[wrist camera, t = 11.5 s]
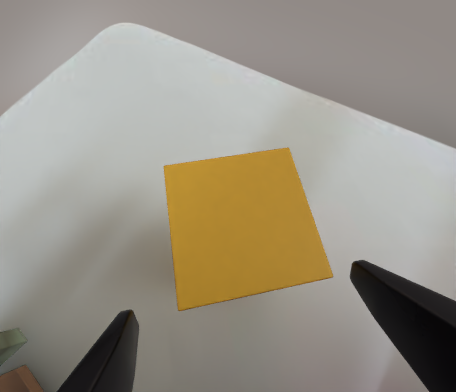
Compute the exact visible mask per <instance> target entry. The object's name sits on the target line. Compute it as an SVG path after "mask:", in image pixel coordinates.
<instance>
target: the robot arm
mask: <svg viewBox="0 0 456 392" xmlns="http://www.w3.org/2000/svg"><path fill="white" fill-rule="evenodd" d="M350 279H351V282H352V283H353V285H354V287H355V288H356V290H357V291H358V293H359V295H360V296H361V298H362V299H363V301H364V303H365V304H366V306H367V308H368V309H369V311H370V312H371V314H372V315H373V317H374V318H375V320H376V321H377V322H378V324H379V325H380V326H381V328H382V329H383V331H384V332H385V333H386V335H387V336H388V337H389V339H390V340H391V341H392V343H393V344H394V345H395V347H396V348H397V349H398V351H399V352H400V353H401V355H402V356H403V357H404V359H405V360H406V361H407V363H408V364H409V365H410V367H411V368H412V369H413V371H414V372H415V373H416V375H417V376H418V377H419V379H420V380H421V381H422V383H423V384H424V385H425V387H426V388H427V389H428V391H429V392H456V301H454V300H452V299H450V298H448V297H445V296H443V295H441V294H439V293H436V292H434V291H432V290H430V289H427V288H425V287H423V286H421V285H419V284H416V283H414V282H412V281H410V280H407V279H405V278H403V277H401V276H398V275H396V274H394V273H392V272H389V271H387V270H385V269H383V268H380V267H378V266H376V265H374V264H372V263H369V262H367V261H365V260H359V261H354V262H353V263H352V267H351V273H350ZM138 335H139V324H138V321H137V319H136V316H135V314H134V312H133V310H125V311H121V312H120V313H119V314H118V315H117V316H116V317H115V319H114V320H113V321H112V322H111V324H110V325H109V326H108V327H107V329H106V330H105V331H104V333H103V334H102V335H101V336H100V338H99V339H98V340H97V341H96V343H95V344H94V345H93V346H92V348H91V349H90V350H89V351H88V353H87V354H86V355H85V356H84V358H83V359H82V360H81V361H80V363H79V364H78V365H77V366H76V368H75V369H74V370H73V372H72V373H71V374H70V375H69V377H68V378H67V379H66V380H65V382H64V383H63V384H62V385H61V387H60V388H59V389H58V390H57V392H132V388H133V382H134V376H135V368H136V357H137V346H138Z"/></svg>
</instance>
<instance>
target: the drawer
mask: <svg viewBox="0 0 456 392" xmlns="http://www.w3.org/2000/svg"><path fill="white" fill-rule="evenodd" d="M26 342H27V339H26V338H25V337H24V335H23V334H22V332H21V331H20V329H19V328H16V329H12V330H8V331H4V332H0V366H1V365H2V364H3V363H4V362H5V361H6V360H8V359H9V358H10V357H11V356H12V355H13V354H14V353H15V352H16V351H17V350H18V349H19V348H20V347H21V346H23V345H24V344H25V343H26ZM0 392H44V391H43V389H42V388H41V386H40V385H39V383H38V382H37V381H36V379H35V378H34V376H33V375H32V373H31V372H30V370H29V369H28V367H27V366H26V365H24V366H22V367H19V368H17V369H14V370H12V371H10V372H8V373H5V374H3V375H1V376H0Z"/></svg>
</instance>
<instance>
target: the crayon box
mask: <svg viewBox="0 0 456 392" xmlns="http://www.w3.org/2000/svg"><path fill="white" fill-rule="evenodd" d="M164 175H165V185H166V195H167V205H168V215H169V225H170V235H171V245H172V255H173V265H174V275H175V285H176V295H177V305H178V310H179V311H183V310H187V309H192V308H196V307H201V306H205V305H210V304H214V303H219V302H224V301H228V300H233V299H237V298H242V297H246V296H251V295H255V294H260V293H264V292H269V291H274V290H278V289H283V288H287V287H292V286H296V285H301V284H305V283H310V282H314V281H319V280H324V279H328V278H332V277H333V274H332V271H331V268H330V265H329V262H328V259H327V256H326V253H325V251H324V248H323V245H322V242H321V239H320V236H319V233H318V230H317V227H316V225H315V222H314V219H313V216H312V213H311V210H310V207H309V204H308V201H307V199H306V196H305V193H304V190H303V187H302V184H301V181H300V178H299V175H298V173H297V170H296V167H295V164H294V161H293V158H292V155H291V152H290V150H289V148H282V149H275V150H268V151H261V152H254V153H248V154H241V155H234V156H227V157H220V158H214V159H207V160H200V161H193V162H186V163H179V164H173V165H166V166H164Z"/></svg>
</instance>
